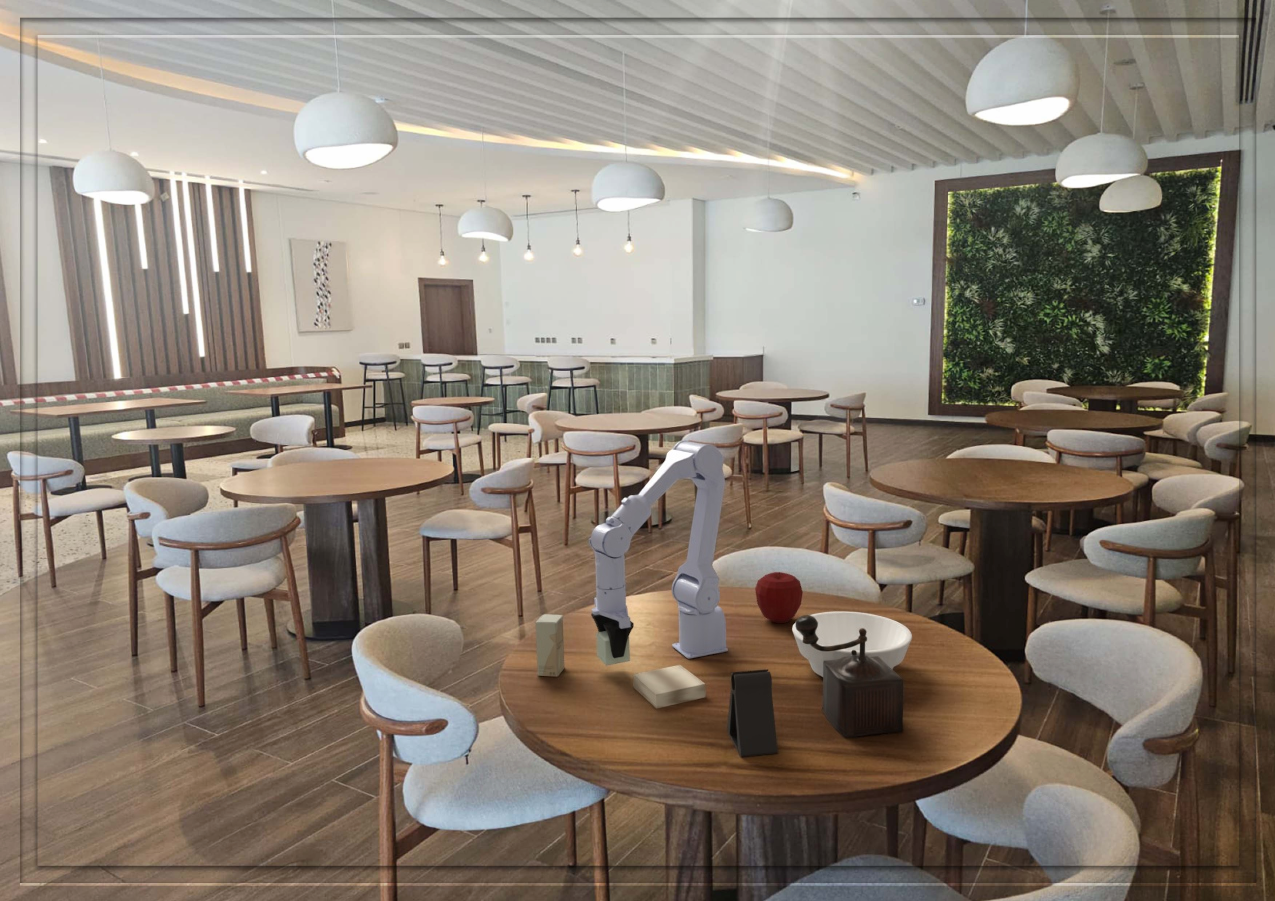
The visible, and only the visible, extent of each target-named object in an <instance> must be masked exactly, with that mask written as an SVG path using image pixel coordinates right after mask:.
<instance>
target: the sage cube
mask: <svg viewBox="0 0 1275 901" xmlns="http://www.w3.org/2000/svg"><path fill="white" fill-rule="evenodd" d="M595 636H596V657H597V658H598V659H599V660H600V661H601V662H602V663H603V664H604V665H605V667H606V666H613V665H617V664H621V663H628V662H630V661H631V656H630V654H631V652H630V650H631V648H630V636H629V637H628V640H627V644H626V649H625V653H624V656H623V657H619V658H613V656H612V652H611V646H610V641H609V637H608V634H607V631H603V632H598V631H597V632H596V634H595Z"/></svg>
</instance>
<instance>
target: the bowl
mask: <svg viewBox="0 0 1275 901" xmlns="http://www.w3.org/2000/svg"><path fill="white" fill-rule="evenodd" d="M809 615H810V616H813V617H814V618H815V619H816V620H817V622H818V627H817V629H816V632H815V633H816V635H817V637H818V638H819V639H818V641H817V644H819V645H820V646H834V645H839V644H844V643H849V642H851V641H854V640H856V639H858V637H859V636H860V634H859V630H860V629H861V628H864V629H865V630H866V631H867V633H866V637H867V641H866V642H865V655H866V656H868V657H874V656H878V657H879V658H880V659H881V660H882V661H884V662H885V663H886V664H887V665H888V666H889V667H890V668H891V669H892V670H893V669H894V667H896V666H898V665H899V664H901V663H902V662H903V661H904V658H905V656H906V654H907V651H908V649H909V647H910V645H911V644H910V643H911V642H912V639H913V636H912V632H911V630H910V629H909V628H908V627H907V626H906V625H904V624H902V623H900V622H898V621H896V620H894V619H891V618H889V617H886V616H885V617H884V616H880V615H877V614H873V613H866V612H859V611H826V612H825V611H824V612H818V613H813V614H809ZM791 628H792V629H791V630H792V633H793V636H794V638H795V642H796V645H797V648H798V650H799V653H800V654H801V656H802V657H803V658H805V659H807V660H808V662H809V664H810V667H811V669H812V671H813V672H814V673H816V674H817V675H818V676H820V677H822V678H823V661H824V660H836V659H841V658H843V657H847V656H852V653H851V652H852V650H855V651H856V652H857V655H859V653H860V644H858V645H856V646H854V647H850V648H846V649H841V650H836V651H820V650H817V649H815V648H813V647H812V646H811V645H810V644H805V643H803V635H802V634H801V633H800V632H799V631H798V630H797V629H796V621H795V623H794V624H793V625H792V627H791ZM893 671H894V670H893Z"/></svg>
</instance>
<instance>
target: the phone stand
mask: <svg viewBox="0 0 1275 901" xmlns="http://www.w3.org/2000/svg"><path fill="white" fill-rule="evenodd" d="M772 685H773V680H772V674H771V671H769V669H766V668H765V669H757V670H755V669H754V670H745V671H742V670H741V671H732V672H731V674H730V695H729V703H728V704H729V705H728V712H727V713H728V714H727V716H728V717H727V723H726V724H727V726H726V732H727V733H728V735H729V738H730V740H731V741H732V743H733V745H734V747H735V749H736V751H737V753H738V755H739V757H740V756H741V757H740V758H745V757H757V755H758V756H767V755H777V754H778V753H779V749H778V741H777V739H778V738H777V732H776V720H775V709H774V702H773V688H772Z"/></svg>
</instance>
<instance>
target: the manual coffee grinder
mask: <svg viewBox="0 0 1275 901" xmlns="http://www.w3.org/2000/svg"><path fill="white" fill-rule="evenodd" d="M810 615H811V614H805V615H804V614H803V615H802V616H799V617H798V618H797V619H796V620H795V622H796V629H797V630H798V631H799V632H800V633H801V634H802V635H803V643H805V644H810V645H811V646H812V647H813V648H815V649H817V650H820V651H836V650H841V649H846V648H850V647H854V646H856V645H858V644H860V653H859V655H857V652H856V651H855V650H852V652H851V653H852V656H847V657H843V658H841V659H836V660H824V661H823V677H822V681H823V682H822V707H821V711H822V712H823V715H824V716H825V717H826V719H827V720H828V722H829V723H830V724H831V726H833V729H835V730H836V731H837V733H839V734H840V735H841V736H842V737H843V738H845V739H856V738H857V739H858V738H866V737H867V738H869V737H878V736H879V737H880V736H885V735H887V736H888V735H893V734H899V733H900V734H901V733H903V732H904V679H903V678H902V677H901V676H900V675H899V674H898V673H897V672H896V671H895V670H892V669H891V668H890V667H889V666H888V665H887V664H886V663H885V662H884V661H882V660H881V659H880V658H879V657H878V656H874V657H868V656H866V655H865V642H866V641H867V637H866V633H867V631H866V630H865V629H864V628H861V629H860V630H859V634H860V636H859V637H858V639H856V640H854V641H851V642H849V643H844V644H839V645H834V646H820V645H819V644H817V641H818V639H819V638H818V637H817V635H816V633H815V632H816V629H817V627H818V622H817V620H816V619H815V618H814V617H813V616H810Z"/></svg>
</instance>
